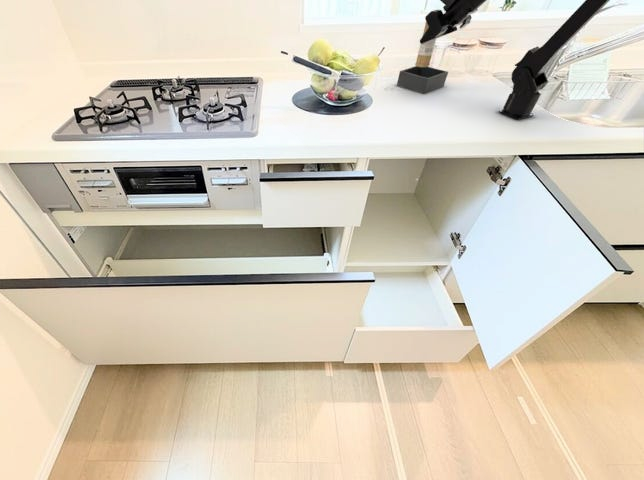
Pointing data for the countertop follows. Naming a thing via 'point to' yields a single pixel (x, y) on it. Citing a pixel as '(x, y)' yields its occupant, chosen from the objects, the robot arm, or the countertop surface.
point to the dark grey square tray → (422, 79)
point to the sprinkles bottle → (425, 51)
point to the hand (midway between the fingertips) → (424, 41)
